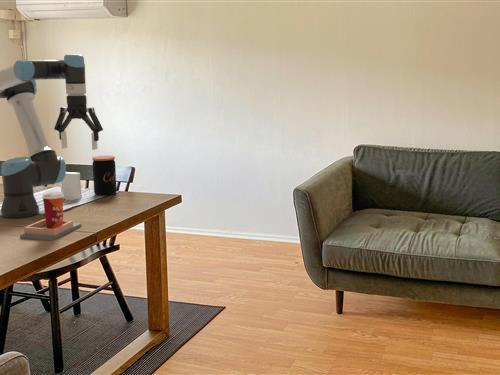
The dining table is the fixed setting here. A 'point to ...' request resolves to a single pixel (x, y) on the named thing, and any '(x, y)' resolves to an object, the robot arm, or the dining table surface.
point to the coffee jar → (104, 175)
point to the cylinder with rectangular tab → (71, 186)
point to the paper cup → (53, 209)
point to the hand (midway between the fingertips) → (79, 148)
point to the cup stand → (48, 230)
